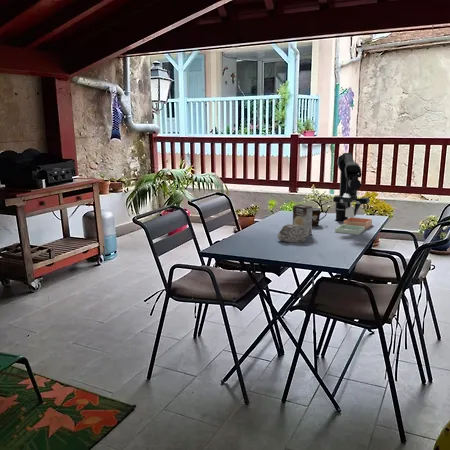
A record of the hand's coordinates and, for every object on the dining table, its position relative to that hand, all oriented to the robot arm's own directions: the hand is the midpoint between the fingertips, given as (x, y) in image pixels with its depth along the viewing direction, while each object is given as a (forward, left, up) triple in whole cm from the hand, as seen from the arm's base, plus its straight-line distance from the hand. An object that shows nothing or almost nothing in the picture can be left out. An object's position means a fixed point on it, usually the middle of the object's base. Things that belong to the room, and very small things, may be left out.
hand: (350, 215), depth 256 cm
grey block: (0, 0, -1) cm, 1 cm away
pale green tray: (0, 0, -10) cm, 10 cm away
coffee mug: (-23, +6, -10) cm, 26 cm away
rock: (-20, -33, -10) cm, 40 cm away
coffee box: (-21, -18, -10) cm, 29 cm away
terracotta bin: (0, +14, -10) cm, 17 cm away
